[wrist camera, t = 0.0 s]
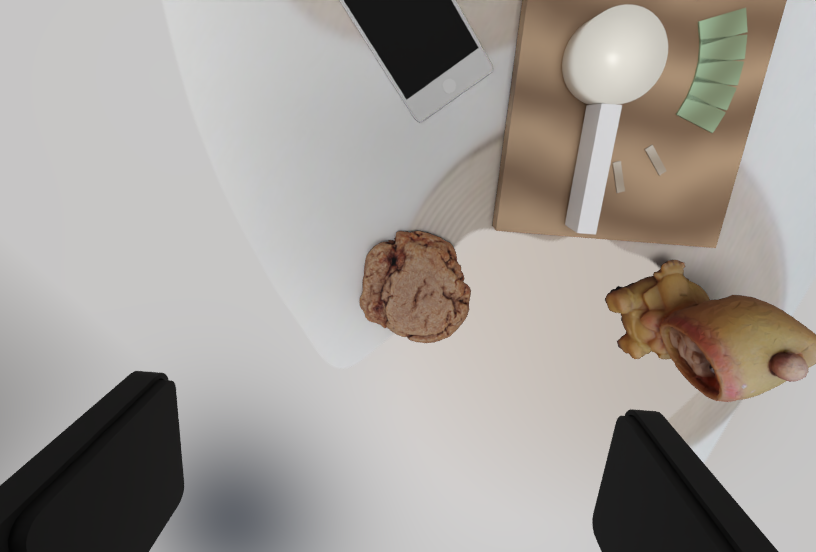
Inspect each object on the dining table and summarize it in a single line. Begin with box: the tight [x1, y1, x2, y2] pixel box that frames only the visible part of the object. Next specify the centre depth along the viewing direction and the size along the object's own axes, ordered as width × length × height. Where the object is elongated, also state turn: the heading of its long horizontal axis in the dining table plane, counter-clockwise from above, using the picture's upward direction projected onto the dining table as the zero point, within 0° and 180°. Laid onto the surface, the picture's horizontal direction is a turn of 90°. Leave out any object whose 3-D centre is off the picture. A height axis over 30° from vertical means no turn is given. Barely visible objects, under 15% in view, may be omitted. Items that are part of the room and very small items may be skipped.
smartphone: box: [340, 0, 493, 122], centre depth 35 cm, size 7×15×1 cm, turn 34°
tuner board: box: [492, 0, 787, 248], centre depth 36 cm, size 20×18×2 cm
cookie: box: [360, 231, 471, 343], centre depth 41 cm, size 10×11×3 cm
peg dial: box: [562, 4, 668, 234], centre depth 34 cm, size 15×6×3 cm, turn 176°
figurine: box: [605, 260, 816, 402], centre depth 36 cm, size 10×8×15 cm
